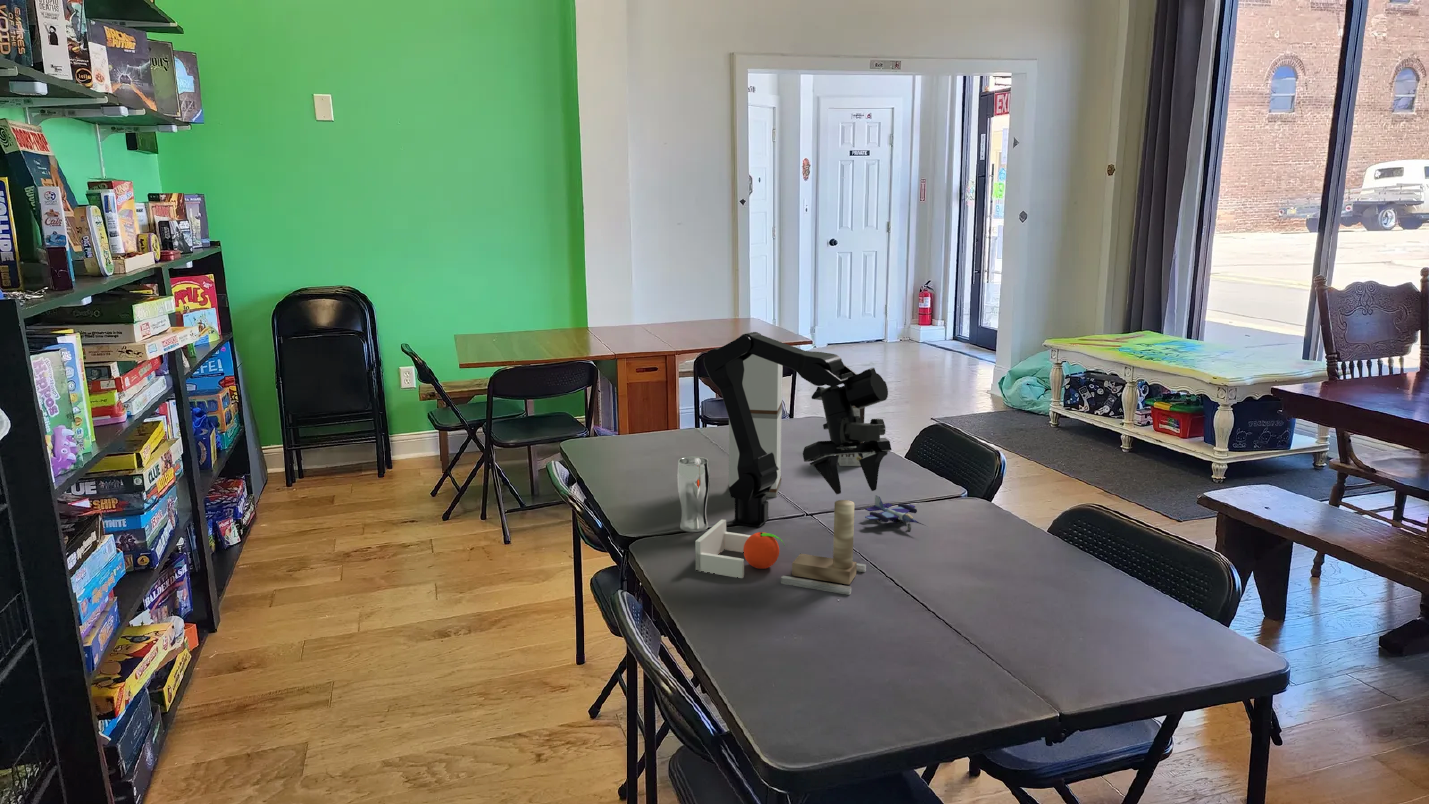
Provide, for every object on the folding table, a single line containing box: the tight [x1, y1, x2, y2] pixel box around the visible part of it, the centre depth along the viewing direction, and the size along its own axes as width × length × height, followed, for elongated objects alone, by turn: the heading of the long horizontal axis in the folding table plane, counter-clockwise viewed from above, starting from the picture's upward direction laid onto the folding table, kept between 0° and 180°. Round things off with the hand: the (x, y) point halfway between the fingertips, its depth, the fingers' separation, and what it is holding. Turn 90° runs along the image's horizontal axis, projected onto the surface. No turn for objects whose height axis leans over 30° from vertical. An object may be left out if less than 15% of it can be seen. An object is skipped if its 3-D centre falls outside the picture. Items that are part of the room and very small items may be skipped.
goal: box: [694, 518, 751, 579], centre depth 178 cm, size 10×13×6 cm
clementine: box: [743, 531, 786, 570], centre depth 175 cm, size 8×7×7 cm
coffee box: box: [837, 406, 866, 467], centre depth 245 cm, size 9×6×16 cm
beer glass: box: [676, 456, 711, 533], centre depth 196 cm, size 7×7×15 cm
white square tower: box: [728, 354, 784, 498], centre depth 220 cm, size 11×11×35 cm
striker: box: [791, 499, 857, 586], centre depth 170 cm, size 11×5×15 cm, turn 67°
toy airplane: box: [864, 495, 927, 532], centre depth 199 cm, size 13×14×4 cm
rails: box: [780, 562, 867, 596], centre depth 171 cm, size 13×12×1 cm
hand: (856, 492), depth 178 cm, fingers open, 9 cm apart
